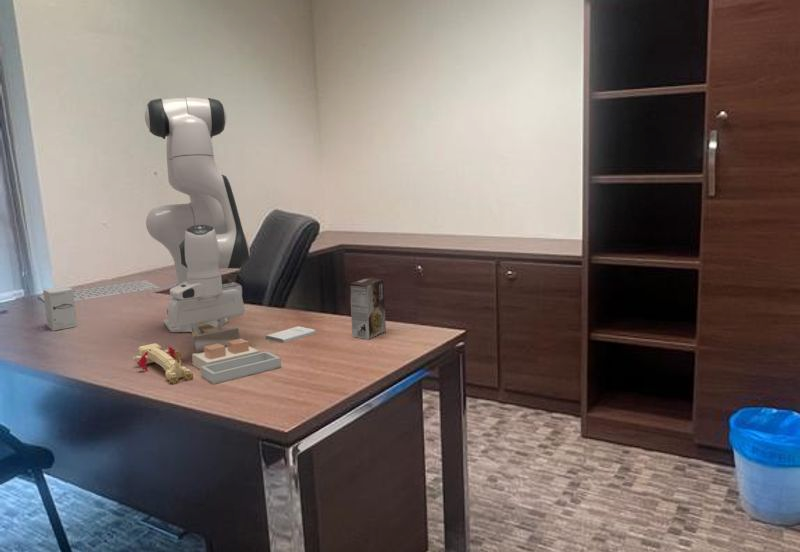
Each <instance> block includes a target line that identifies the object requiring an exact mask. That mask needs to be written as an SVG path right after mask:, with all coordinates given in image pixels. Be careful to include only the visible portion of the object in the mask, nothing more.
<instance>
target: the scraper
mask: <svg viewBox="0 0 800 552" xmlns="http://www.w3.org/2000/svg"><path fill="white" fill-rule="evenodd" d="M199 325H200V327H198V329H199V330H200V331H202V332H204V334H199V335H197V333H196V332H195V330H194V329H193V328H192V332H191V335H192V339H193V347H194V349H193V350H194V351H195V353H199V352H203V351H204V346H208V345H213V344H218V343H219V344H221V345H223V346H225V347H226V346H228V344H227V341H232V340H236V339H240V329H239V327H236V326H235V327H231V328H225V329H222V330H220V329H218V328H216V327H213V326H211V325H209V324H207V323H204V322H203V323H199ZM191 327H192V325H191Z"/></svg>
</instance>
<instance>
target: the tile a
mask: <svg viewBox="0 0 800 552" xmlns="http://www.w3.org/2000/svg"><path fill="white" fill-rule="evenodd" d="M225 347H226V346H223V345H221V344H219V343H218V344H213V345H208V346H204V350H203V351H204V354H205V356H206V357H208V358H210V359H214V358H219V357H223V356H226V351H225Z"/></svg>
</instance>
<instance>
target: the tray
mask: <svg viewBox="0 0 800 552" xmlns="http://www.w3.org/2000/svg"><path fill="white" fill-rule="evenodd" d="M200 368H201V369H200V376H201V378H203V379H205V380H206V381H208V382H210V383H211V384H213V385H216V384H219V383H223V382H228V381H232V380H235V379H239V378H244V377H247V376H252V375H256V374H259V373H264V372H267V371H271V370H276V369H280V368H282V363H281V357H280V356H277V355H276V354H273V353H271V352H269V351H263V352H259V353H258V354H253V355H249V356H245V357H240V358H236V359H232V360H227V361H223V362H219V363H214V364H210V365H206V366H201V367H200Z"/></svg>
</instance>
